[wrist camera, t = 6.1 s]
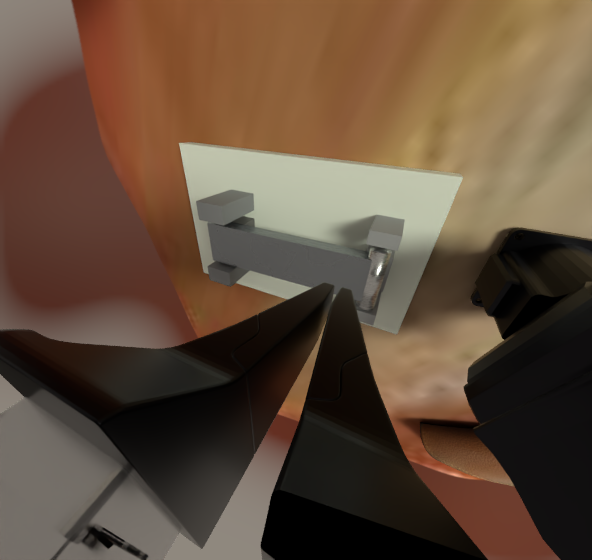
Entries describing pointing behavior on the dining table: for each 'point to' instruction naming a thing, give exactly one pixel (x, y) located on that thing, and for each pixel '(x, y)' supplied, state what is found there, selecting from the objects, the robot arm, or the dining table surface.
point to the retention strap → (301, 259)
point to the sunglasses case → (462, 452)
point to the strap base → (321, 213)
